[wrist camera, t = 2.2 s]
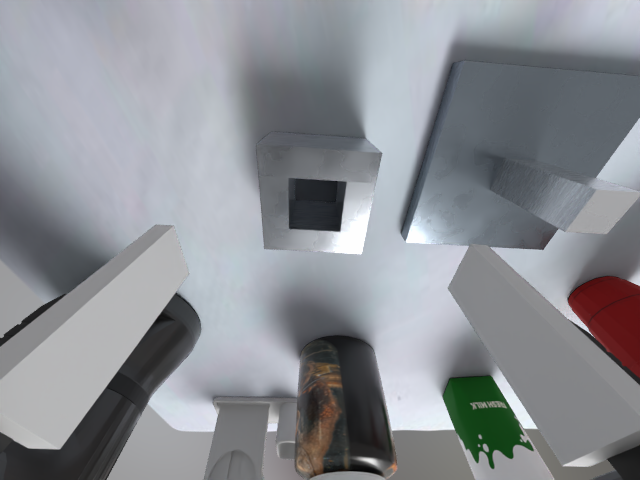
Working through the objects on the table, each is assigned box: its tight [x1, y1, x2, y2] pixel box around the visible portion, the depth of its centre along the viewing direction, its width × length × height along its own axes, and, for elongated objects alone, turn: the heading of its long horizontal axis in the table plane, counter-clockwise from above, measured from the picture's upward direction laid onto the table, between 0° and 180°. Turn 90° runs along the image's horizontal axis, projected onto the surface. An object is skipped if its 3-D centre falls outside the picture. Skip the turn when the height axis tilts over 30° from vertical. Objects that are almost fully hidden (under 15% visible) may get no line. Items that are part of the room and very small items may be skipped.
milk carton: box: [443, 376, 555, 480], centre depth 32 cm, size 9×9×20 cm
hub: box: [256, 132, 382, 254], centre depth 18 cm, size 8×8×6 cm
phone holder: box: [204, 397, 297, 480], centre depth 38 cm, size 17×10×18 cm, turn 87°
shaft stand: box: [401, 60, 640, 250], centre depth 16 cm, size 14×14×8 cm
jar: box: [294, 336, 397, 480], centre depth 29 cm, size 12×12×15 cm
